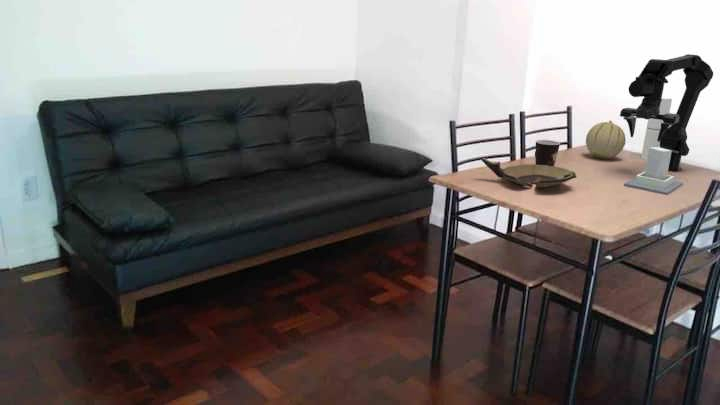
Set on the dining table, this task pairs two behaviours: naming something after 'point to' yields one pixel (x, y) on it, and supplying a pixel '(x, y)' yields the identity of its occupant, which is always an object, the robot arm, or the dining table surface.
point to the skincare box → (657, 163)
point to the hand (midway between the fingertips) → (644, 139)
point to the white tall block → (655, 128)
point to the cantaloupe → (605, 140)
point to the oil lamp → (532, 174)
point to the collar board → (654, 184)
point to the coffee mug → (546, 152)
